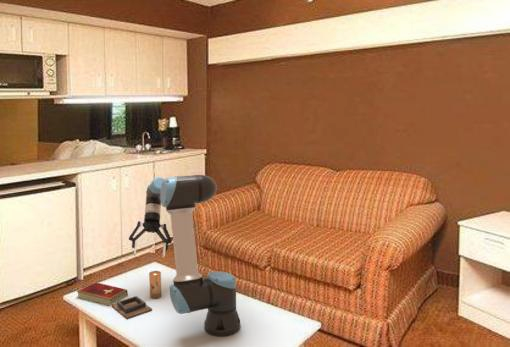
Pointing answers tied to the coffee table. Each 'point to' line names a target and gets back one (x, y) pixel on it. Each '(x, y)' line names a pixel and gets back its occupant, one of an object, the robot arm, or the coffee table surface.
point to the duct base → (131, 307)
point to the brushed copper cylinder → (155, 284)
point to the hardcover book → (102, 293)
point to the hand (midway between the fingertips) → (149, 255)
